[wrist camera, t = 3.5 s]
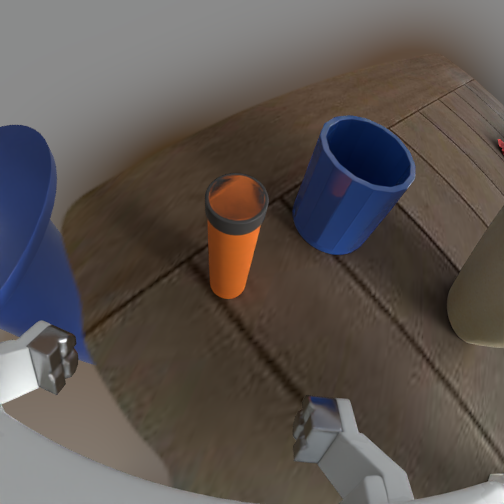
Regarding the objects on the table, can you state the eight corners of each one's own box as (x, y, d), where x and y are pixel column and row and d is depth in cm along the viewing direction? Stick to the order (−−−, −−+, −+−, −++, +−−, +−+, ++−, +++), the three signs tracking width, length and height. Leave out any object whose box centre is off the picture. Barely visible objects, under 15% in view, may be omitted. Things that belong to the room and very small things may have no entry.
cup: (295, 253, 28) (330, 184, 19) (289, 183, 32) (313, 108, 23) (373, 256, 29) (428, 198, 20) (359, 191, 32) (398, 125, 23)
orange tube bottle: (207, 299, 25) (202, 222, 15) (209, 263, 27) (207, 171, 16) (246, 300, 26) (269, 225, 15) (246, 265, 27) (267, 174, 16)
